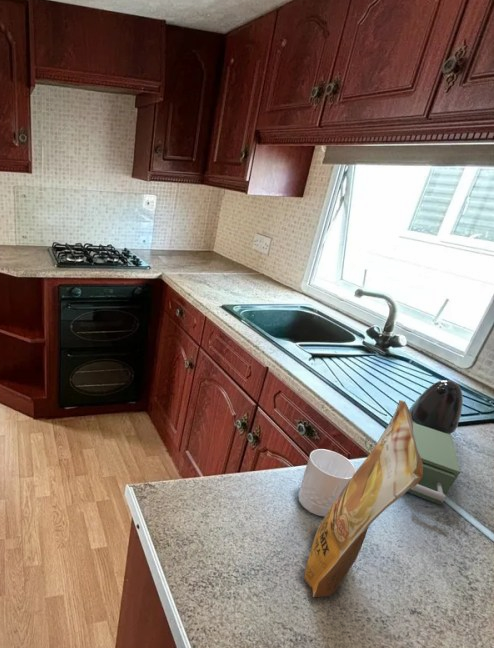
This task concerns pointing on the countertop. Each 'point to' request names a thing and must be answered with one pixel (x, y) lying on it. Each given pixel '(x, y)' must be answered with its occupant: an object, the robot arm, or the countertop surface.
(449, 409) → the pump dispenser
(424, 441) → the cabinet
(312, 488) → the white cup
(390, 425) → the pancake mix bag
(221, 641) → the countertop surface
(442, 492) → the drawer
